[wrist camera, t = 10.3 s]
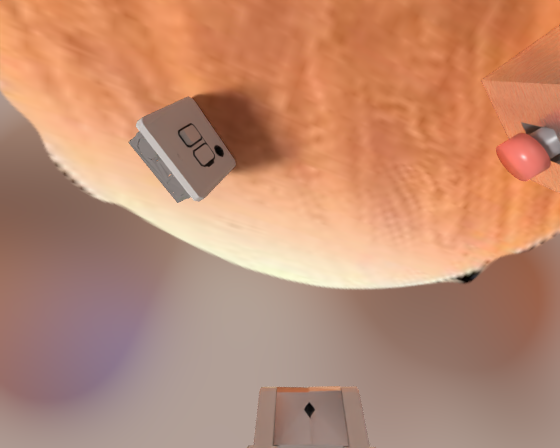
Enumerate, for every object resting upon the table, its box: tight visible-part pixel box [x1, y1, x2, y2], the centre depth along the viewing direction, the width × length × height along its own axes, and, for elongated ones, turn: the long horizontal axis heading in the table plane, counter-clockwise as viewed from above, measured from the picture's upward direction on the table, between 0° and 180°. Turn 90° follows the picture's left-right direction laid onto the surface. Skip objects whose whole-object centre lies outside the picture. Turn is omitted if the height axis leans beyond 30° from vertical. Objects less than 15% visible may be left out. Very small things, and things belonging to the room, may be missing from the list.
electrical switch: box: [128, 97, 236, 203], centre depth 33 cm, size 9×5×9 cm, turn 31°
